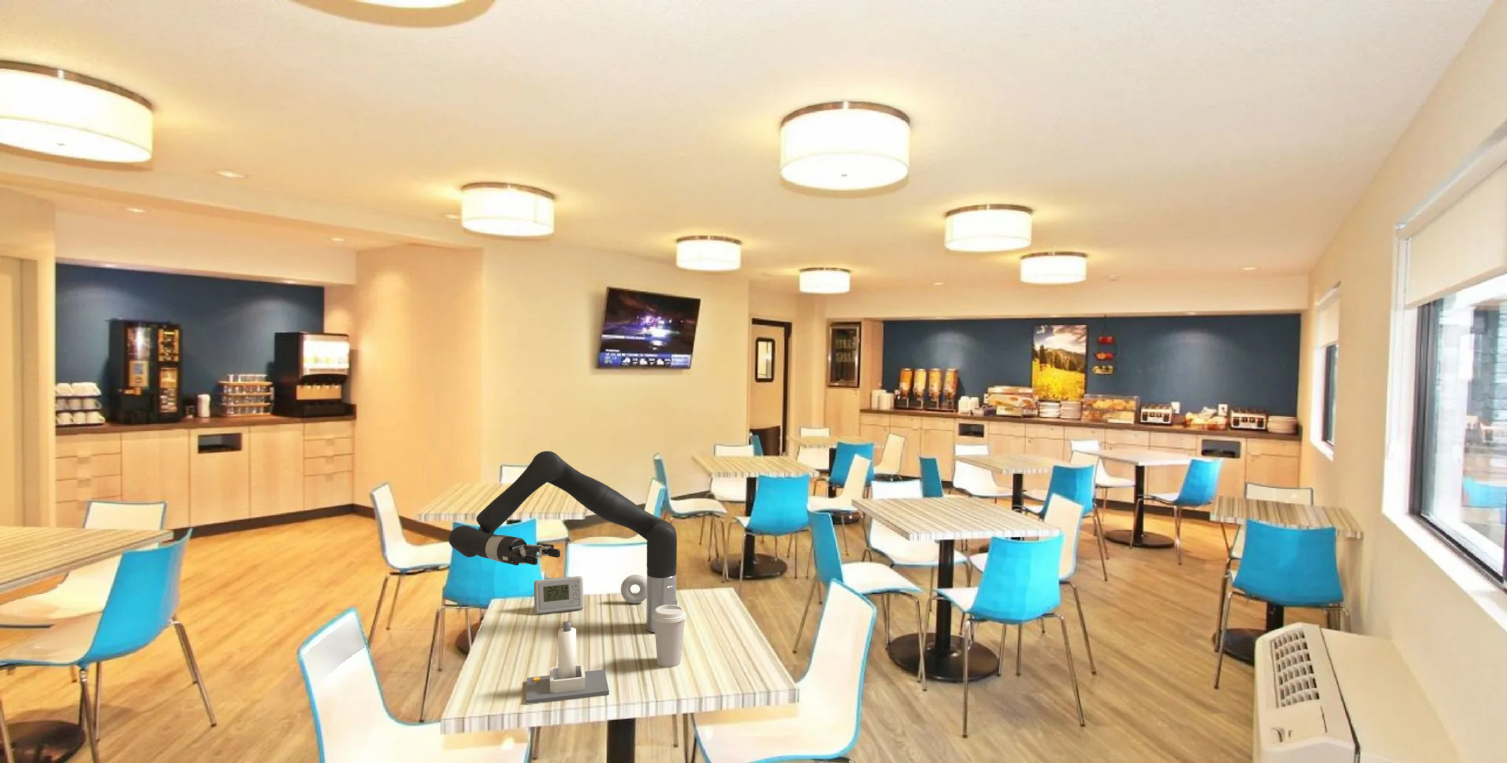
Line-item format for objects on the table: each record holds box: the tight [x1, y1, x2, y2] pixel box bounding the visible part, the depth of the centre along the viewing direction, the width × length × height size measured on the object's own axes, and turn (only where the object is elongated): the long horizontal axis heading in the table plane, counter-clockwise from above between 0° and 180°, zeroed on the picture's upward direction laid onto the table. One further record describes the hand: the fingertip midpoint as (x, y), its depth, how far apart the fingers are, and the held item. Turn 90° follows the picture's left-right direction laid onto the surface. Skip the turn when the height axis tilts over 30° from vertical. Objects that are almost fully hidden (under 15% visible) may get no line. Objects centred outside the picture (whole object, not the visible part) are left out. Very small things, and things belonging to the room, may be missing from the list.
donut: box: [620, 574, 647, 605], centre depth 251 cm, size 10×4×10 cm, turn 94°
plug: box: [557, 620, 577, 679], centre depth 186 cm, size 4×4×16 cm
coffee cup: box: [652, 604, 687, 668], centre depth 203 cm, size 10×10×15 cm
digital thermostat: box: [533, 575, 585, 615], centre depth 243 cm, size 16×9×11 cm, turn 100°
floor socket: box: [525, 664, 610, 704], centre depth 186 cm, size 20×13×4 cm, turn 107°
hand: (548, 557), depth 199 cm, fingers open, 8 cm apart
